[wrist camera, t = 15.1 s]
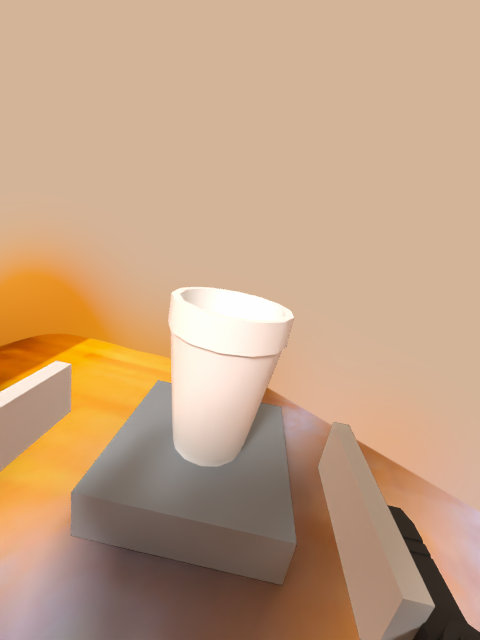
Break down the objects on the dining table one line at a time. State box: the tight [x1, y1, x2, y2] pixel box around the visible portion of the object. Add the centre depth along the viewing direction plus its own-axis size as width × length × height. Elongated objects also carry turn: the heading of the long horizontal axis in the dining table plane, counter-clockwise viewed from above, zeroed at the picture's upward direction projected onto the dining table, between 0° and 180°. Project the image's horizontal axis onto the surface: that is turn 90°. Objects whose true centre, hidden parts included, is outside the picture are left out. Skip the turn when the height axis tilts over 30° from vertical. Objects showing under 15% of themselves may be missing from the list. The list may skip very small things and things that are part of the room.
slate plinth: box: [71, 380, 297, 585], centre depth 25 cm, size 15×15×4 cm
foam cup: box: [168, 287, 294, 467], centre depth 22 cm, size 10×9×13 cm
